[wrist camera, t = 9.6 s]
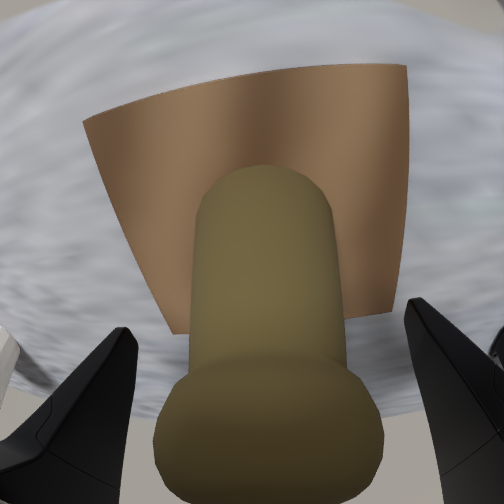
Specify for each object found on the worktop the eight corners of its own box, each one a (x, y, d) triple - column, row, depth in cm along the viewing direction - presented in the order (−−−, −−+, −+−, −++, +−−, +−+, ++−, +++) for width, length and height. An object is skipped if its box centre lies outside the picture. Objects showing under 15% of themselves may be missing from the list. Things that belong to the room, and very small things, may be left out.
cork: (357, 239, 14) (437, 488, 5) (254, 301, 16) (250, 525, 7) (277, 134, 11) (334, 473, 2) (167, 222, 14) (75, 483, 5)
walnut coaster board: (396, 63, 10) (406, 65, 9) (387, 299, 17) (392, 311, 17) (93, 115, 12) (82, 121, 11) (176, 322, 19) (173, 334, 18)
